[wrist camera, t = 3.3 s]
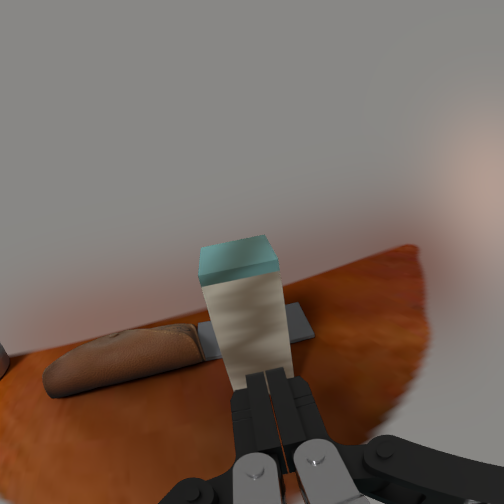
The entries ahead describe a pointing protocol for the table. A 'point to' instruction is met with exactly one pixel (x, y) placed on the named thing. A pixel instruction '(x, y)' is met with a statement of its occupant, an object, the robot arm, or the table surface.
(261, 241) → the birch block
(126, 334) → the sunglasses case
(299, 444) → the robot arm
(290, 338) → the rubber mat
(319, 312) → the table surface
